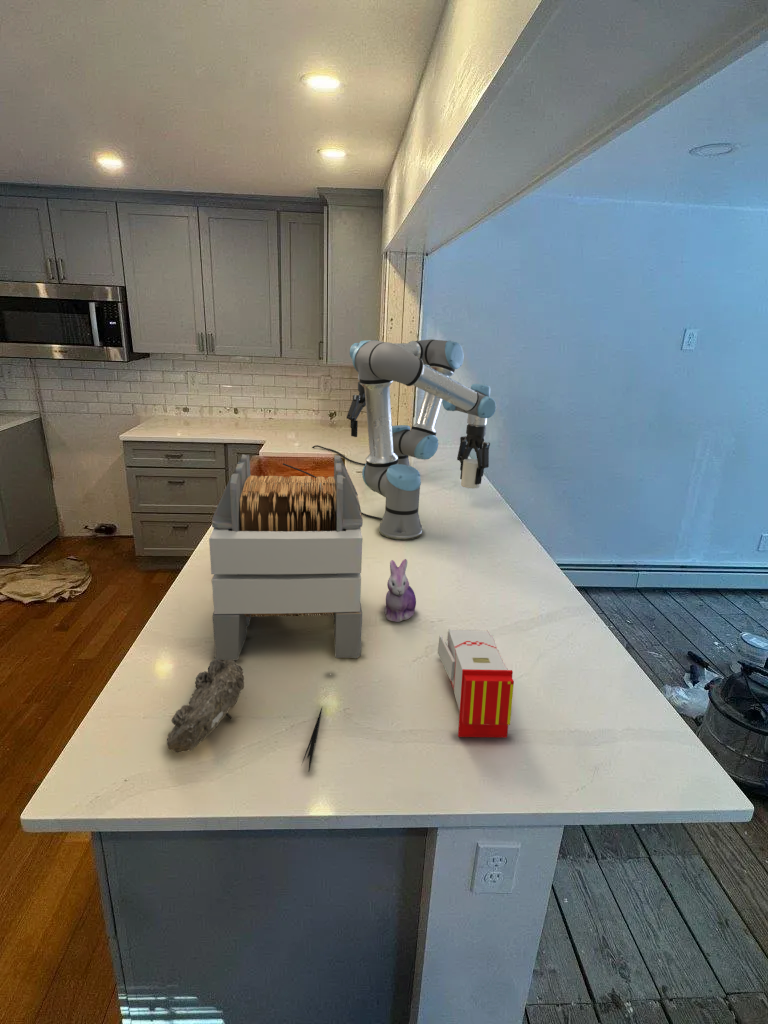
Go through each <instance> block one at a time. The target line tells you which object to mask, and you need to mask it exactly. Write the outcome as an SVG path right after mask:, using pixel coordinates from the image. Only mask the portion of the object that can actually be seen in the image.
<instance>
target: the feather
mask: <svg viewBox="0 0 768 1024" xmlns="http://www.w3.org/2000/svg"><path fill="white" fill-rule="evenodd" d="M329 675H330V676H331V675H332V674H331V673H330V674H329ZM322 710H323V707H321V708H320V710H319V713H318V716H317V719H316V723H315V725H314V728H313V731H312V733H311V737H310V739H309V742H308V745H307V748H306V751H305V754H304V757H303V760H302V763H301V767H302V765H303V763H304V761H305V758H308V759H309V760H308V762H307V763H308V764H307V766H308V771H310V770H311V766H312V765H311V764H312V760H313V757H315V756H314V755H315V751H316V749H315V746H317V739H318V733H319V729H320V722H321V717H322V712H323V711H322ZM313 754H314V755H313ZM306 755H307V757H306Z"/></svg>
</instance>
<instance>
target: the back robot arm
mask: <svg viewBox="0 0 768 1024" xmlns="http://www.w3.org/2000/svg"><path fill="white" fill-rule="evenodd" d="M364 341H365V340H360V341H359V342H355V343H353V344H352V345H351V346H350V348H349V357H350V359H352V357H353V353H354V351H355V349H356V348H357V346H358V345H359V344H360V343H362V342H364ZM392 343H393V342H392ZM393 344H396V345H398V346H400V347H402V348H403V349H405V350H407V351H408V352H410V353H412V354H413V355H415V356H417V357H418V358H420V359H422V361H423V364H425V365H427V366H429V367H430V368H432V369H434V370H436V371H438V372H440V373H442V374H444V375H446V376H447V377H449V378H451V377H452V376H453V375H454V374H455V371H456V370H459V369H460V368H461V367H462V366H463V363H464V358H465V354H464V349H463V347H462V345H461V344H460V343H459V342H457V341H454V340H453V341H452V340H444V339H434V338H433V339H432V338H431V339H430V338H429V339H422V340H411V341H409V342H403V343H402V342H401V343H399V342H398V343H397V342H396V343H395V342H394V343H393ZM357 381H358V382H357V391H358V394H353V395H352V401H351V403H350V405H349V409H348V412H347V414H346V419H347V420H348V421H349V420H350V436H351V437H353V438H358V426H359V425H358V424H359V421H358V417H359V416H360V414H361V412H362V411H363V409H364V407H365V408H366V400H365V388H364V387H363V386H362V385H361V384H360V381H359V372H357ZM442 405H443V404H442V399H441V398H438V397H436V396H434V395H432V394H430V393H428V392H426V391H424V395H423V399H422V401H421V406H420V409H419V412H418V415H417V418H416V421H415V423H414V424H412V425H411V426H410V425H406V424H399V425H392V437H393V452H394V453H395V454H396V455H397V456H398V464H403V465H406V466H411V464H410V459H409V457H411V458H416V459H418V460H429V459H431V458H432V457H434V455H435V454H436V453H437V451H438V448H439V438H438V437H437V431H436V428H435V427H436V424H437V420H438V417H439V413H440V412H441V411H440V410H441V407H442ZM314 448H320V449H323V450H327V451H330V452H333V453H336V454H337V455H338V456H340V457H341V458H343V459H345V460H347V461H348V462H349V463H353V464H355V465H361V466H365V464H366V463H363V462H359V461H354V460H352V459H350V458H348V457H346V456H345V455H344V454H342V453H341V452H339V451H337V450H335V449H332V448H327V447H325V446H321V445H317V444H315V445H313V446H312V447H311V449H314Z"/></svg>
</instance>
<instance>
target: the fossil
mask: <svg viewBox="0 0 768 1024" xmlns="http://www.w3.org/2000/svg"><path fill="white" fill-rule="evenodd" d="M243 670H244V669H243V667H242V665H240V664H237V662H236V660H232V659H231V660H228V659H227V660H221V661H217V660H215V659H212V660H211V661H210V663H209V665H208V666H207V671H201V672H199V673H198V674H197V675H196V676H195V680H194V684H195V685H194V687H195V689H194V690H193V693H192V694H191V697H190V698H189V700H188V704H184V705H182V706H181V707H180V709H177V710H176V711H175V713H174V715H173V716H172V718H171V723H172V724H173V727H172V730H171V731H170V732H168V734H167V738H166V741H167V742H166V745H167V749H168V750H169V751H173V752H174V753H176V754H178V753H182V752H188V751H189V752H192V751H193V750H195V748H196V747H197V746H199V744H200V743H201V742H203V741H204V740H205V739H206V738H207V737H208V736H209V735H210V734H211V733H212V732H214V730H215V729H217V727H218V726H219V724H220V722H221V721H222V720H223V719H224V718H225V716H226V717H227V719H229V720H233V717H232V715H230V714H229V710H230V709H231V708H234V706H235V704H236V703H237V702H238V699H239V697H240V695H241V693H242V691H243V690H245V689H244V688H245V675H244V671H243Z"/></svg>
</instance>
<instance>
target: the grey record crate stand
mask: <svg viewBox="0 0 768 1024" xmlns="http://www.w3.org/2000/svg"><path fill="white" fill-rule="evenodd" d="M333 460H334V461H333V469H334V470H333V476H327V477H325V476H321V475H319V476H316V478H315V477H312V476H310V475H308V476H307V475H290V476H283V475H279V476H278V475H265V476H264V475H259V476H258V475H251V459H250V454H243V453H242V454H241V456H240V459H239V461H238V462H237V464H236V466H235V469H234V471H233V473H232V474H231V475H230V478H229V479H228V482H227V484H226V486H225V489H224V491H223V493H222V496H221V498H220V500H219V502H218V504H217V507H216V508H215V511H214V513H213V516H212V518H211V527H212V528H213V529H212V531H211V534H210V535H209V538H208V543H209V559H210V574H211V575H213V576H212V579H211V587H212V588H211V589H212V600H213V601H212V603H213V612H212V629H213V630H212V631H213V640H214V649H215V657H214V660H217V661H224V660H227V659H228V660H231V659H232V660H234V661H238V660H239V658H240V654H241V653H242V649H243V647H244V645H245V642H246V640H247V636H248V632H247V630H248V629H247V627H249V626H250V624H251V623H250V622H251V618H253V617H254V618H255V617H258V618H259V617H264V618H265V617H267V618H268V617H292V616H293V617H308V616H310V617H311V616H333V618H332V619H333V626H334V627H333V636H334V638H333V639H334V640H333V641H334V658H337V659H342V658H344V659H345V658H347V659H349V658H352V659H358V658H359V657H361V656H362V633H363V632H362V631H363V630H362V629H363V611H362V603H361V590H362V576H361V574H362V563H363V562H362V561H363V534H362V529H361V528H362V527H363V525H364V524H363V523H364V519H363V515H362V514H361V512H362V509H361V505H360V499H359V494H358V492H357V489H356V487H355V485H354V483H353V481H352V478H351V477H350V474H349V472H348V470H347V468H346V466H345V463H344V461H343V459H342V456H341V455H338V454H337V455H336V454H334V458H333Z"/></svg>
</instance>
